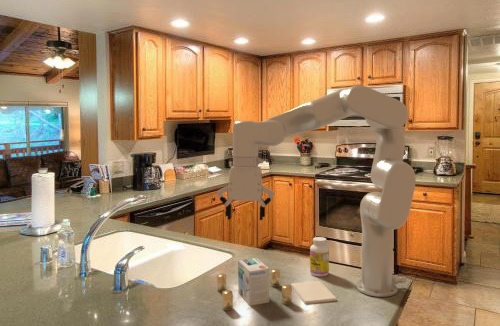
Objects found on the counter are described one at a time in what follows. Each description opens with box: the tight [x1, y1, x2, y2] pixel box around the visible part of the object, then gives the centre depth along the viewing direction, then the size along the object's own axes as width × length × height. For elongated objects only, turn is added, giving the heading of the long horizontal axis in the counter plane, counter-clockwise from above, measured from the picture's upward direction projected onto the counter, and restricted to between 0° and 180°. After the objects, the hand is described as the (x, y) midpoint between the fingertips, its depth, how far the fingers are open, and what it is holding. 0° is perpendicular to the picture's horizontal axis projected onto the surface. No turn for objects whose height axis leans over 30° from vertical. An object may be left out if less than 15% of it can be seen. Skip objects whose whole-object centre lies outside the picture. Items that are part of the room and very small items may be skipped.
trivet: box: [290, 280, 337, 305], centre depth 129 cm, size 10×14×1 cm
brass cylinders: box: [216, 268, 293, 312], centre depth 128 cm, size 21×19×5 cm
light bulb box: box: [237, 257, 270, 307], centre depth 125 cm, size 11×7×11 cm, turn 21°
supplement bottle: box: [309, 236, 330, 278], centre depth 144 cm, size 7×7×13 cm
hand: (245, 218), depth 122 cm, fingers open, 9 cm apart
